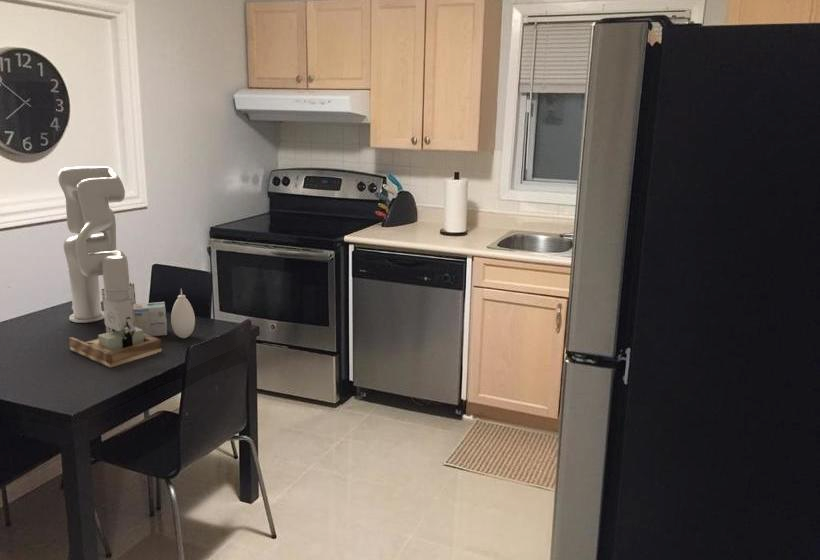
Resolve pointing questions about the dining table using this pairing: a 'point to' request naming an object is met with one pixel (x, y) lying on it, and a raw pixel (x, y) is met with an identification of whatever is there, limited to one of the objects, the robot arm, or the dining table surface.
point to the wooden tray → (117, 356)
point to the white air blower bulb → (182, 317)
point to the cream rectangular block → (119, 339)
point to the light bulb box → (151, 318)
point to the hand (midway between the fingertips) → (122, 346)
